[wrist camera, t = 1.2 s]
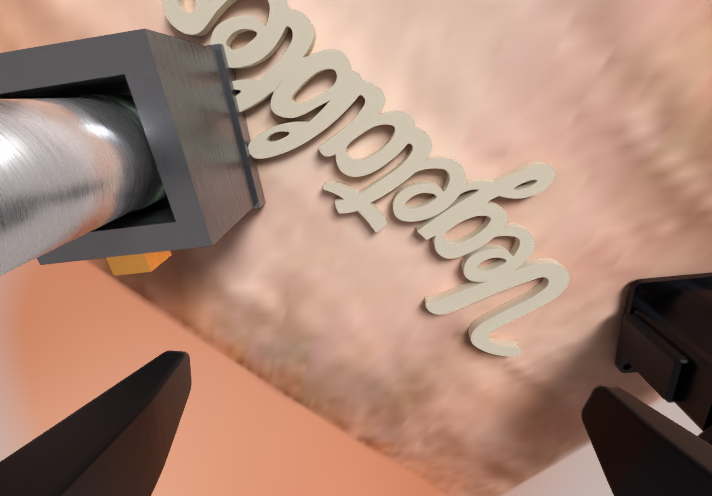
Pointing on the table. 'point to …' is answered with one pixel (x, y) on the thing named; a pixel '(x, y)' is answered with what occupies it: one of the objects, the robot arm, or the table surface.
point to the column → (69, 171)
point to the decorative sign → (436, 210)
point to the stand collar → (154, 138)
